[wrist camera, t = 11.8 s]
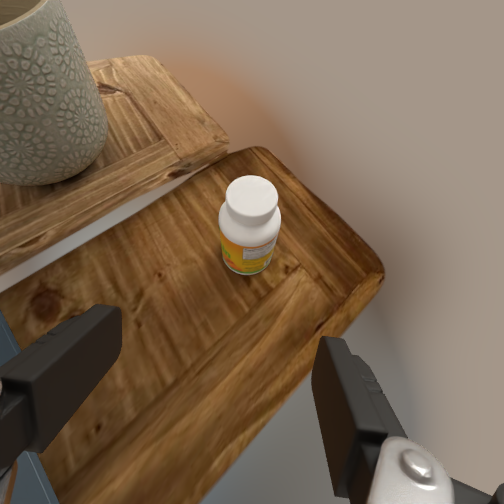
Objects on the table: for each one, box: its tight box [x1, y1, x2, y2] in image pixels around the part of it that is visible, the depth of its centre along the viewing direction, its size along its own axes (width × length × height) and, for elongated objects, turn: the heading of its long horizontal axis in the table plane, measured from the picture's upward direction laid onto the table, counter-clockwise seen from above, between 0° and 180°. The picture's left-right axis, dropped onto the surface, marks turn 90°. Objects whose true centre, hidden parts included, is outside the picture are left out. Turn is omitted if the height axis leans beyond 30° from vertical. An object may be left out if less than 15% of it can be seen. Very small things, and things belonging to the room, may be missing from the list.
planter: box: [0, 0, 108, 186], centre depth 27 cm, size 17×17×15 cm
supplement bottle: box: [219, 176, 281, 275], centre depth 24 cm, size 5×5×10 cm
